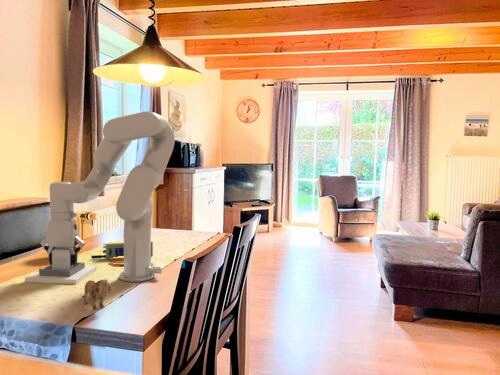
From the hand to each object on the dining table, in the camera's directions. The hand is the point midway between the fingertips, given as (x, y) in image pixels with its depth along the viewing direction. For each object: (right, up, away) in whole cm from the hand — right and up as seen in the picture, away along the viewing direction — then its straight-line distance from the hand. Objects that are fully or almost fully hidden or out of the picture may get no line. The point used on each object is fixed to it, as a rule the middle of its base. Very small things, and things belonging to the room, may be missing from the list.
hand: (63, 263), depth 140 cm
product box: (0, -2, 0) cm, 2 cm away
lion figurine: (+22, -8, -25) cm, 35 cm away
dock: (0, -4, 0) cm, 4 cm away
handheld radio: (+13, -3, +26) cm, 29 cm away
